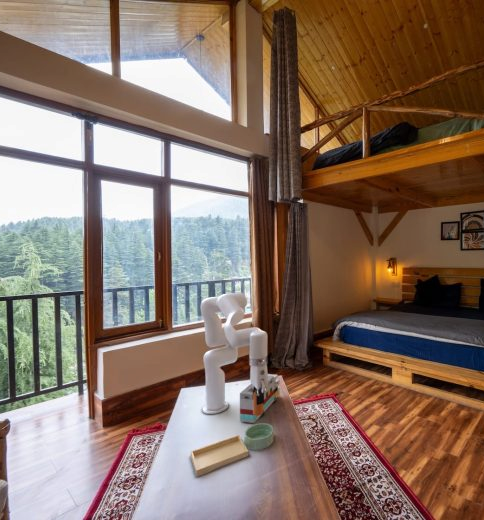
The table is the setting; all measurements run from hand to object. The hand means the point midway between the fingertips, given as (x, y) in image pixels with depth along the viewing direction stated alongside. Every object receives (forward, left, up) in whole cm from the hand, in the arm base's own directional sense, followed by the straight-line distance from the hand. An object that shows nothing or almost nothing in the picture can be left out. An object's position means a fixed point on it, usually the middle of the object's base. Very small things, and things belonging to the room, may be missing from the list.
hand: (258, 401), depth 130 cm
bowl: (0, 0, -18) cm, 18 cm away
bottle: (0, 0, -5) cm, 5 cm away
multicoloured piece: (-27, +11, -18) cm, 34 cm away
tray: (0, -16, -18) cm, 24 cm away
